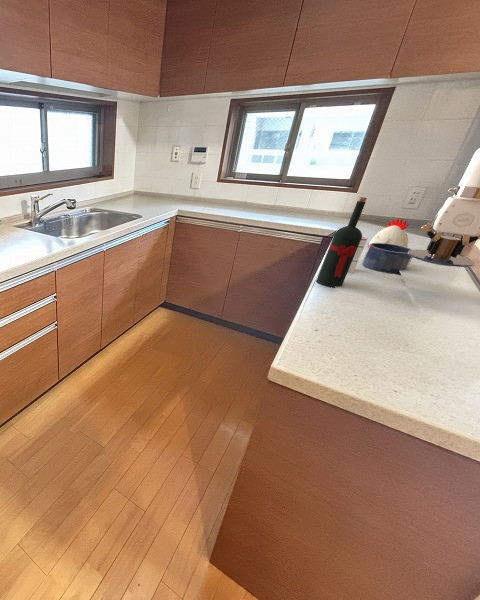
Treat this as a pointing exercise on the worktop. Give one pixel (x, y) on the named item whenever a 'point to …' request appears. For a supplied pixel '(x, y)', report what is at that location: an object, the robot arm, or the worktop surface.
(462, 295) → the worktop surface
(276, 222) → the worktop surface
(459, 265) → the lid
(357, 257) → the syrup box
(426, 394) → the worktop surface
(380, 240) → the chicken figurine
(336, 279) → the wine bottle
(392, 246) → the pot
